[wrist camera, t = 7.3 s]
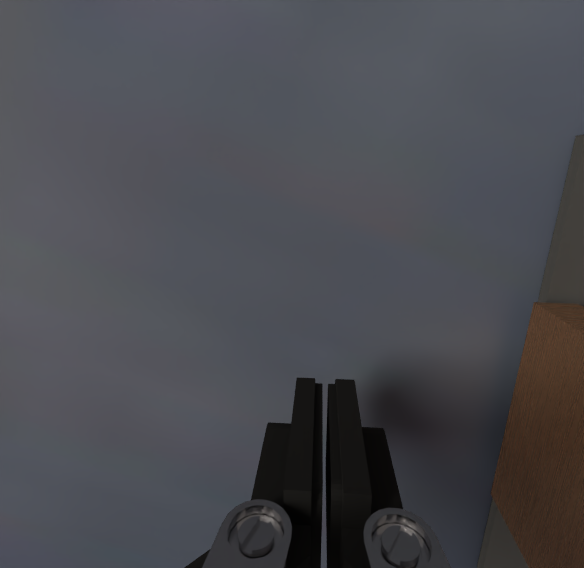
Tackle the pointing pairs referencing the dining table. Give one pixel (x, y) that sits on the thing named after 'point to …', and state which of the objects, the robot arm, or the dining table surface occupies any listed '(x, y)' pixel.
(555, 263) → the strip
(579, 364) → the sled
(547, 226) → the dining table surface
